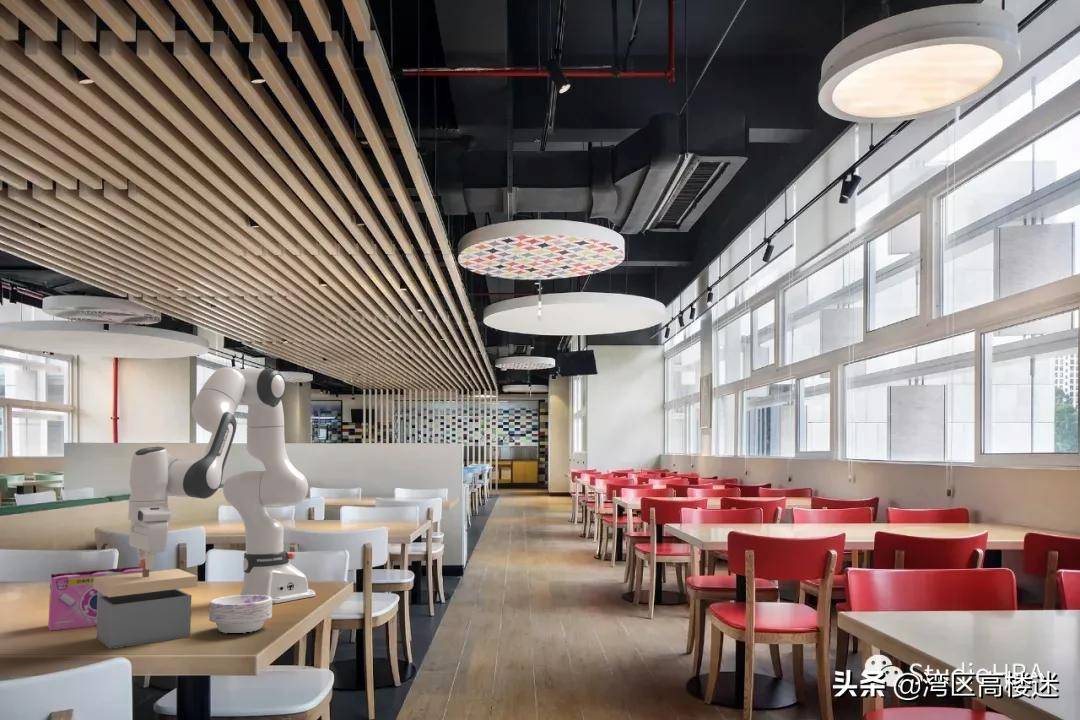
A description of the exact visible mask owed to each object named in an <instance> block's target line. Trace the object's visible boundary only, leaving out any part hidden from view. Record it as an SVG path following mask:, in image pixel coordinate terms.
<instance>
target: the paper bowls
mask: <svg viewBox="0 0 1080 720" xmlns="http://www.w3.org/2000/svg"><path fill="white" fill-rule="evenodd" d="M272 600H273V599H272V597H270V596H265V595H240V594H239V595H238V594H237V595H228V596H222V597H217V598H214V599H212V600H210V601H209V609H208V610H209V612H208V615H209V616H208V617H209V618H208V620H209V622H212V623H215V624H216V627H217V629H218V631H219V632H220V633H222V632H223V634H227V633H243V634H247V633H246V632H250V633H254V632H256V631H259V630H260V629H261V628H262V627H263V625H264V624H265V623H266V621H267V620H269V619H271V618H272V617H273V603H272ZM253 631H254V632H253Z"/></svg>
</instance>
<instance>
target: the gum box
mask: <svg viewBox="0 0 1080 720" xmlns="http://www.w3.org/2000/svg"><path fill="white" fill-rule="evenodd" d="M141 572H143V569H142V568H140V566H129V567H119V568H109V569H108V568H107V569H98V570H97V569H96V570H85V571H84V570H83V571H71V572H61V573H51V574H50V579H49V581H50V584H49V601H48V602H49V605H48V606H49V607H48V608H49V609H48V625H47V626H48V630H49V632H52V630H53V631H60V630H61V629H62V630H69V629H70V630H71V629H78V628H87V627H94V626H95V625H96V626H97V613H98V597H102V596H106V595H104V594H102V593H101V592H99V591H97V590H95V589H94V588H93V579H94V577H103V576H113V575H122V574H132V573H141ZM96 626H95V627H96Z"/></svg>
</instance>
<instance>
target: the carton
mask: <svg viewBox="0 0 1080 720" xmlns="http://www.w3.org/2000/svg"><path fill="white" fill-rule="evenodd" d="M191 621H192V594H189V593H187V592H185V591H183V590H182V589H173V590H165V591H157V592H148V593H140V594H132V595H123V596H115V597H107V596H102V597H98V613H97V625H96V639H97V640H98V641H99V642H101V643H102V644H103V645H104V644H105V647H107V648H108V647H109V648H108V649H110V650H112V649H111V648H114V649H119V647H120V648H124V646H126V647H132V646H137V645H145V644H151V643H156V642H164V641H169V640H175V639H183V638H190V637H191V627H192V626H191Z"/></svg>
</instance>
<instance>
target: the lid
mask: <svg viewBox="0 0 1080 720" xmlns="http://www.w3.org/2000/svg"><path fill="white" fill-rule="evenodd" d="M144 562H145V559H143V560H141V561H140V563H139V562H138V567H140V568H142V569H143V572H141V573H132V574H122V575H113V576H103V577H94V579H93V588H94V589H95V590H97V591H99V592H101V593H102V594H104V595H106V596H107V597H115V596H123V595H132V594H140V593H148V592H157V591H165V590H173V589H178V590H182V589H187V588H188V589H189V588H197V587H198V578H199V577H198V575H197V574H196V575H195V574H193V573H190V572H188V571H185V570H182V569H180V568H172V569H171V568H169V569H163V570H161V569H160V570H153V571H150V570H151V569H148V570H147V569H145V568H144Z"/></svg>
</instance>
